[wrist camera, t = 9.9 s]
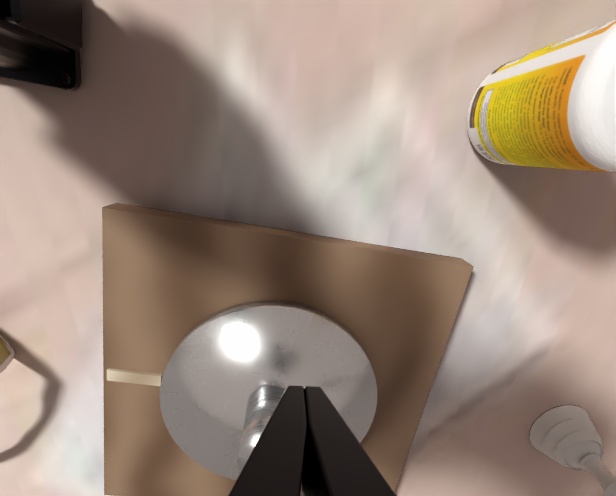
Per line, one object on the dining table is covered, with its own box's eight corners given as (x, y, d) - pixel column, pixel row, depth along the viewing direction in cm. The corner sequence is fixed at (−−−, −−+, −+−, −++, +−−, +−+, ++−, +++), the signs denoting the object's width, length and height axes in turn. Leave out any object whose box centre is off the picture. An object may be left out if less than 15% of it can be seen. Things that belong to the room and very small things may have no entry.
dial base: (115, 475, 25) (103, 497, 24) (116, 202, 19) (100, 208, 18) (381, 496, 28) (386, 518, 26) (461, 258, 21) (475, 267, 20)
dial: (163, 291, 19) (121, 338, 14) (391, 309, 20) (422, 359, 15) (167, 496, 24) (137, 582, 19) (350, 502, 25) (364, 585, 20)
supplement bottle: (500, 183, 20) (700, 217, 10) (442, 118, 19) (609, 85, 9) (574, 111, 19) (875, 73, 9) (519, 37, 18) (803, -100, 8)
